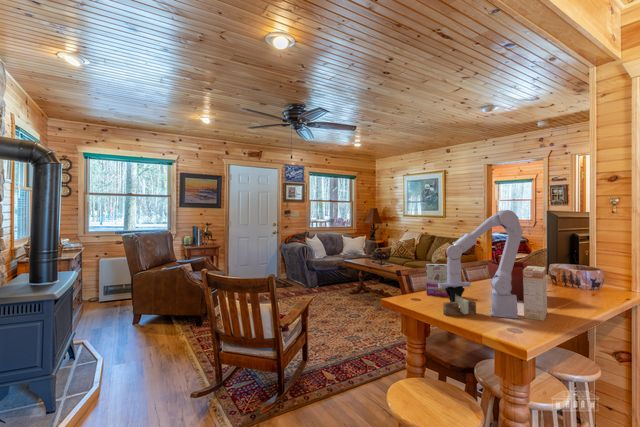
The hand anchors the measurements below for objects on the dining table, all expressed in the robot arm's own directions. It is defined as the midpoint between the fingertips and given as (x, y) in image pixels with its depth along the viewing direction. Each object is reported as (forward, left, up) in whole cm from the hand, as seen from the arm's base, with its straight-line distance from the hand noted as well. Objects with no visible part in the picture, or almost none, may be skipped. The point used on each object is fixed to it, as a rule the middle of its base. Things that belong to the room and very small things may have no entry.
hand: (454, 303), depth 143 cm
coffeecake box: (-31, -7, -4) cm, 32 cm away
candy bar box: (+10, -30, -4) cm, 32 cm away
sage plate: (-2, +3, -2) cm, 4 cm away
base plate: (-2, +3, -3) cm, 5 cm away
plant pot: (-27, -38, -4) cm, 47 cm away
